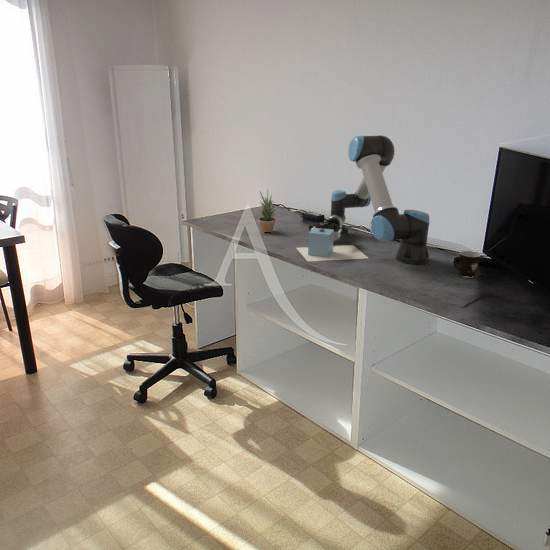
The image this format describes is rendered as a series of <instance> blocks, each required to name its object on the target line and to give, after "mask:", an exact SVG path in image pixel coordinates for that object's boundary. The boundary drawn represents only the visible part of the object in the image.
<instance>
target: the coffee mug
mask: <svg viewBox="0 0 550 550" xmlns="http://www.w3.org/2000/svg"><path fill="white" fill-rule="evenodd" d="M481 256H482V254H481V253H479V252H477V251H473V250H472V251H471V250H462V251H459V257H456V258H454V260H453V266H454V268H456V269H457V270H458V272H459V273H458V274H460V275H462V276H469V277H472V276H475V277H476V274H477V270H478V267H479V263H480V260H481V258H482V257H481ZM457 260H459V266H457V265H456V262H457Z"/></svg>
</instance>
